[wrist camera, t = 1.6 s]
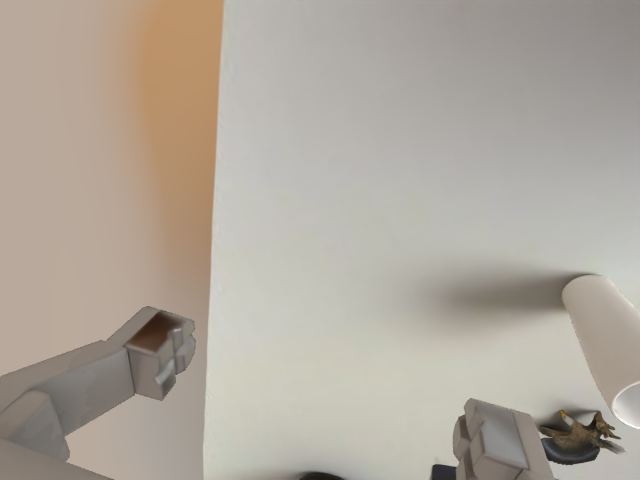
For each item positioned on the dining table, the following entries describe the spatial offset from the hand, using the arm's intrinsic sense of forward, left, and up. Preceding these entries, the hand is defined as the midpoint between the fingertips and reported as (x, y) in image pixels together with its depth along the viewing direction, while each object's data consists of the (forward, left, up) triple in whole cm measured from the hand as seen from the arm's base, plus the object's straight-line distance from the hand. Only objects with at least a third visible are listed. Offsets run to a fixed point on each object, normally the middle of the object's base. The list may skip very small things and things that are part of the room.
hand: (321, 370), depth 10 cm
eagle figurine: (+12, +47, -32) cm, 58 cm away
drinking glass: (-2, +29, -32) cm, 43 cm away
